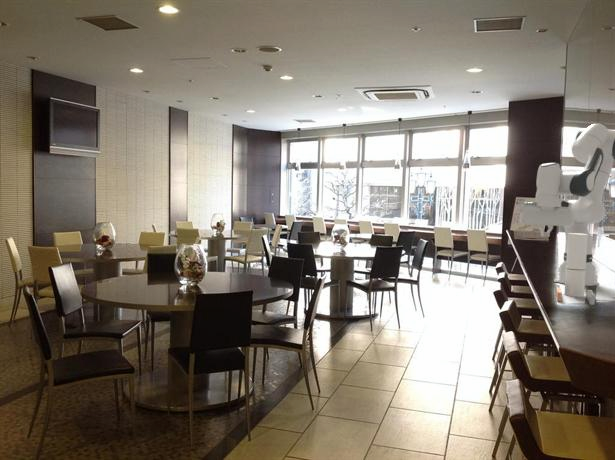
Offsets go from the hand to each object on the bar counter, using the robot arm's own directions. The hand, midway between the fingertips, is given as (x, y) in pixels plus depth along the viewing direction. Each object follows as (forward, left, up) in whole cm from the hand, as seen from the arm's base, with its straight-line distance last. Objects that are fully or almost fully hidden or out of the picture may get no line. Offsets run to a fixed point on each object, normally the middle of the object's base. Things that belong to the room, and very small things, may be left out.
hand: (545, 236), depth 219 cm
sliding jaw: (+10, +6, -23) cm, 26 cm away
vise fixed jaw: (+10, +17, -23) cm, 31 cm away
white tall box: (-2, +12, -24) cm, 27 cm away
